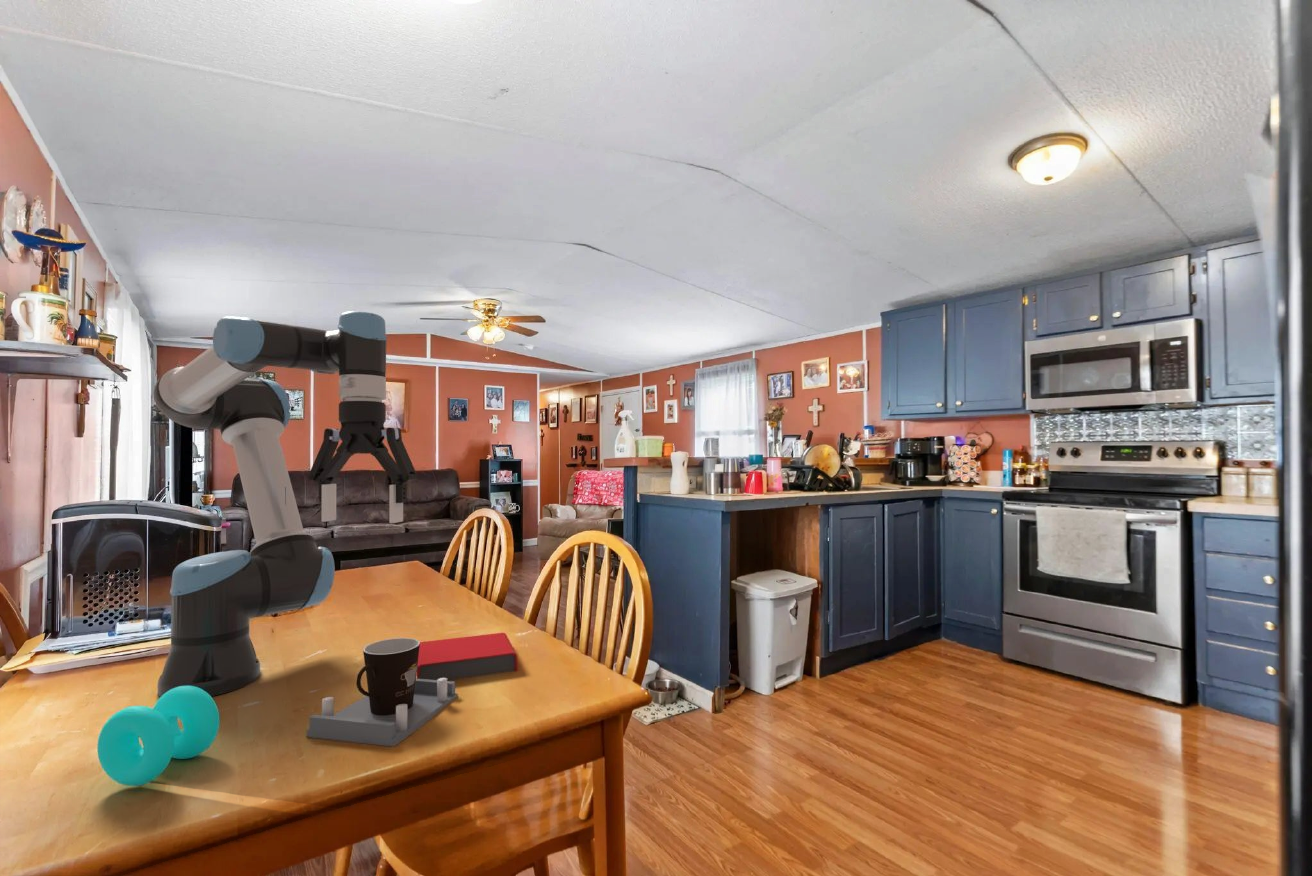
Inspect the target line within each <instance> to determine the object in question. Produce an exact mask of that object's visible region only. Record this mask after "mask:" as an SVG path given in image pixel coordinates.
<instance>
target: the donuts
mask: <svg viewBox="0 0 1312 876" xmlns="http://www.w3.org/2000/svg"><path fill="white" fill-rule="evenodd" d="M219 712H220V711H219V709H218V706H217V704H216V702H215V700H214V699H213V696H210V695H209V694H208V693H207V692H205V691H204V690H202V689H200V688H198V687H195V686H179V687H176V688H173V689H171V690H169V691H168V692H166V693H165V694H163V695H162V696H161V697H160V696H159V698H158V700H157V701H156V702H155V704H154V706H153V707H149V706H146V705H145V706H144V705H131V706H127V707H124V708H123V709H121V710H118V711H117V712H115V713H114V714H112V715H111V716H110V717H109V718H108V720H107V721H106V722H105V723H104V725H103V726H102V728H101V730H100V732H99V736H98V740H97V744H96V745H97V748H96V749H97V758H98V761H99V763H100V766H101V768H102V770H103V771H104V772H105V774H106V775H107V776H108V777H109V778H110V779H111V780H113V781H115V782H116V783H118V784H121V785H124V786H127V787H128V786H131V787H137V786H141V785H145V784H148V783H150V782H152V781H154V780H155V779H157V778H158V777H159V776H160V775H161V774H162V773H163V772H164V771H165V769H166V768H167V767H168V765H169V764H170V761H171V759H172V758H173V759H178V760H186V759H187V760H188V759H193V758H195V757H197V756H199V755H200V754H202V753H204V752H205V751H206V750H207V749H209V748H210V747H211V746H212V745H213V742H214V741H215V740H216V737H217V735H218V733H219V728H220V713H219ZM178 720H179V721H180V722H181V724H182V729H181V728H180V726H179V723H178ZM140 741H141V743H142V744H141V743H140Z"/></svg>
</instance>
